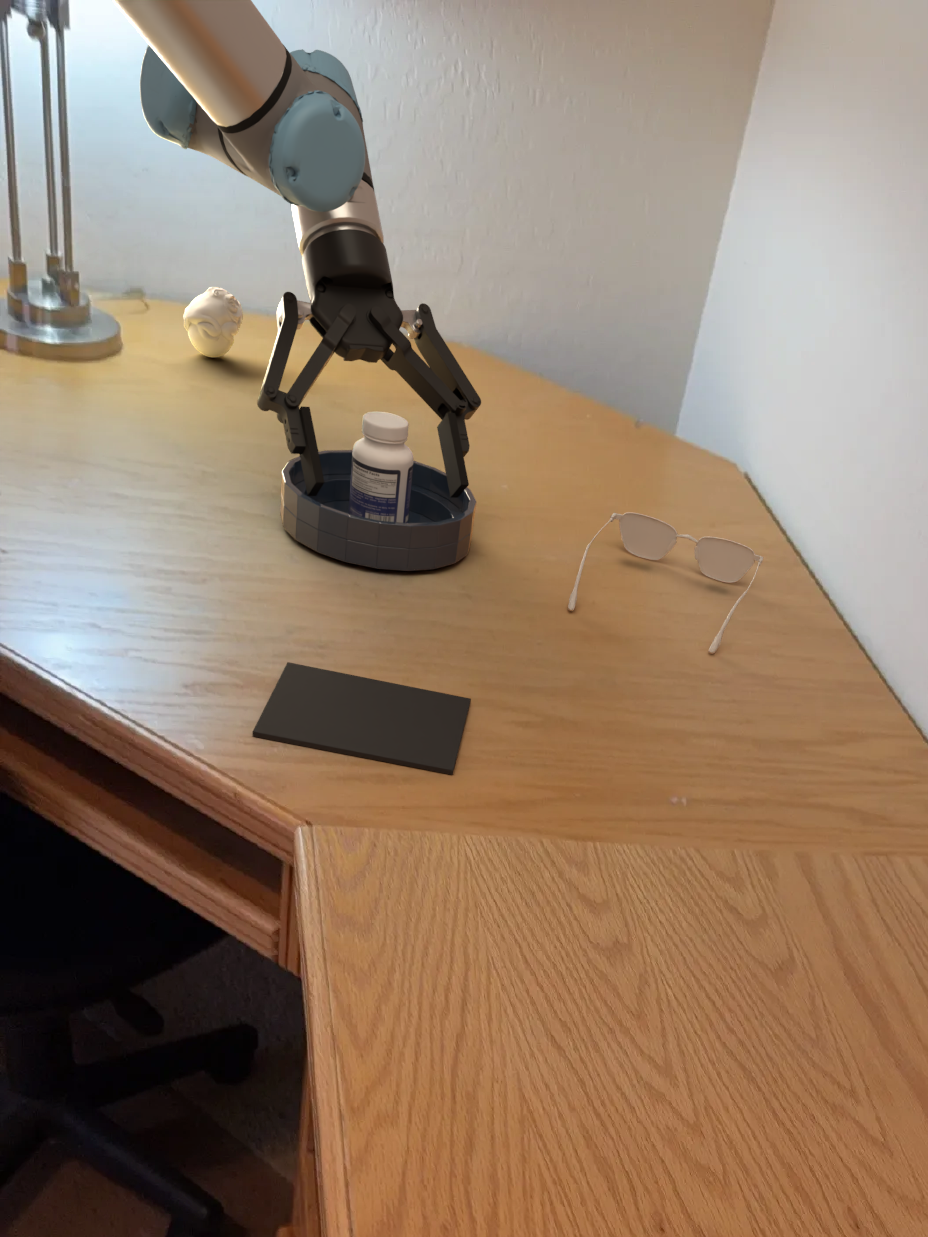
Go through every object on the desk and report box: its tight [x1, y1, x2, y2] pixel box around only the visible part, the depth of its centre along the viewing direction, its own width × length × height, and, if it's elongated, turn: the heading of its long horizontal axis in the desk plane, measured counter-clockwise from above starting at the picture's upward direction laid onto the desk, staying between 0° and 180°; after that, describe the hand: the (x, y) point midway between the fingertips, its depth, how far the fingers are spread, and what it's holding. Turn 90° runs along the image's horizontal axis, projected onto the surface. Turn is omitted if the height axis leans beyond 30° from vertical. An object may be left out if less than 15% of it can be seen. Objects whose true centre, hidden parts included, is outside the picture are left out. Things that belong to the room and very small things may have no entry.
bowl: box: [279, 449, 477, 572], centre depth 117 cm, size 17×17×4 cm
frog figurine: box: [182, 286, 244, 358], centre depth 145 cm, size 6×7×7 cm
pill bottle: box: [349, 411, 414, 523], centre depth 115 cm, size 5×5×10 cm
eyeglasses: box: [567, 511, 764, 655], centre depth 119 cm, size 15×18×4 cm
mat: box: [252, 661, 472, 776], centre depth 93 cm, size 14×11×1 cm
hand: (389, 491), depth 114 cm, fingers open, 13 cm apart
